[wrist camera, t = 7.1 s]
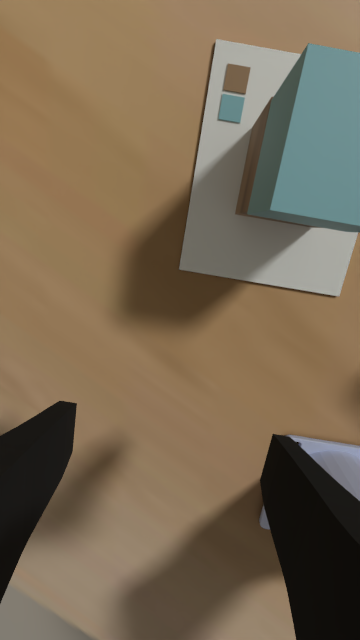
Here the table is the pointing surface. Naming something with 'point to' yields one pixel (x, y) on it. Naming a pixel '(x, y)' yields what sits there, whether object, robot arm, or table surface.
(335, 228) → the brick teal
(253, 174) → the brick walnut
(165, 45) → the table surface
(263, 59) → the baseplate
